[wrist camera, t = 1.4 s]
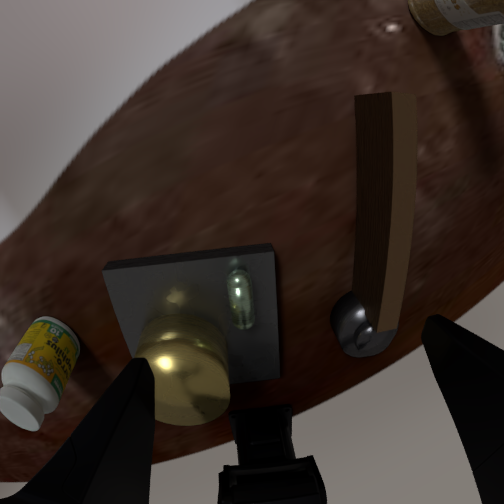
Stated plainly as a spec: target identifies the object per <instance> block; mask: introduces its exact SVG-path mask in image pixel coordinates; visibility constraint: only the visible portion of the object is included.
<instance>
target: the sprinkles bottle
mask: <svg viewBox="0 0 504 504" xmlns="http://www.w3.org/2000/svg"><path fill="white" fill-rule="evenodd" d="M408 5H409V9H410V11H411V13H412V15H413V17H414V19H415V20H416V21H417V22H418V23H419V25H420V26H421V27H422V28H424V29H425V30H427V31H428V32H430V33H432V34H433V35H439V36H443V35H447V34H448V33H450V32H454V31H459V30H468V29H473V28H479V27H484V26H490V25H497V24H504V0H408Z"/></svg>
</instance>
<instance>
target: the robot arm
mask: <svg viewBox="0 0 504 504" xmlns="http://www.w3.org/2000/svg"><path fill="white" fill-rule="evenodd" d="M421 339H422V343H423V345H424V348H425V351H426V353H427V356H428V359H429V362H430V365H431V368H432V371H433V373H434V376H435V378H436V381H437V383H438V386H439V388H440V390H441V392H442V394H443V397H444V399H445V402H446V404H447V406H448V408H449V411H450V413H451V415H452V418H453V420H454V423H455V426H456V428H457V430H458V433H459V436H460V439H461V441H462V444H463V446H464V449H465V452H466V455H467V458H468V460H469V463H470V466H471V469H472V471H473V475H474V478H475V482H476V485H477V488H478V491H479V494H480V498H481V501H482V504H504V350H502V349H500V348H498V347H497V346H495V345H493V344H492V343H489V342H488V341H486V340H484V339H483V338H481V337H479V336H477V335H476V334H474V333H472V332H470V331H468V330H467V329H465V328H463V327H461V326H460V325H457V324H456V323H454V322H452V321H451V320H449V319H447V318H445V317H443V316H441V315H439V314H436V315H432V316H429V317H428V318H427V320H426V322H425V325H424V328H423V331H422V335H421ZM229 421H230V425H231V429H232V433H233V437H234V440H235V444H237V450H238V451H237V452H238V464H239V465H234V466H229V465H224V467H223V469H224V470H223V471H222V472H220V473H219V493H218V502H217V503H218V504H327V497H326V490H325V486H324V482H323V480H322V477H321V475H320V472H319V470H318V467H317V465H316V462H315V460H314V457H313V455H311V456H307V457H304V458H297V459H296V457H295V452H294V448H293V443H292V439H291V436H292V407H291V405H289V404H286V405H280V406H273V407H265V408H257V409H249V410H239V411H231V412H229ZM154 431H155V377H154V374H153V371H152V369H151V367H150V365H149V362H148V360H147V359H146V358H144V357H138V358H133V359H131V361H130V362H129V363H128V364H127V365H126V367H125V368H124V369H123V370H122V371H121V373H120V374H119V375H118V376H117V378H116V379H115V380H114V381H113V383H112V384H111V385H110V386H109V387H108V389H107V390H106V391H105V392H104V394H103V395H102V396H101V397H100V399H99V400H98V401H97V402H96V404H95V405H94V406H93V407H92V409H91V410H90V411H89V412H88V414H87V415H86V416H85V417H84V419H83V420H82V421H81V422H80V424H79V425H78V426H77V427H76V429H75V430H74V431H73V432H72V434H71V437H68V439H67V440H66V441H65V442H64V444H63V445H62V446H61V447H60V449H59V450H58V451H57V452H56V453H55V455H54V456H53V457H52V458H51V459H50V460H49V461H48V462H47V463H46V464H45V466H44V467H43V468H42V469H41V470H40V471H39V472H38V473H37V474H36V475H35V476H34V477H33V478H32V479H31V480H30V481H29V482H28V483H27V484H26V485H25V486H24V487H23V488H22V489H21V490H20V491H18V492H17V493H15V494H14V495H12V496H9V497H7V498H3V499H0V504H149V491H150V475H151V463H152V451H153V441H154Z"/></svg>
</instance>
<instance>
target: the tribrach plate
mask: <svg viewBox="0 0 504 504" xmlns="http://www.w3.org/2000/svg"><path fill="white" fill-rule="evenodd" d="M102 273H103V277H104V280H105V283H106V286H107V289H108V292H109V295H110V299H111V302H112V304H113V307H114V310H115V313H116V316H117V319H118V322H119V324H120V327H121V330H122V333H123V335H124V338H125V340H126V343H127V346H128V348H129V351H130V353H131V356H132V358H138V357H144V358H146V359H147V360H148V362H149V365H150V367H151V369H152V371H153V374H154V377H155V419H156V420H158V421H161V422H164V423H168V424H173V425H182V426H190V425H199V424H203V423H207V422H210V421H212V420H214V419H216V418H218V417H219V416H220V415H222V414H223V413H224V412H225V410H226V409H227V407H228V405H229V402H230V387H229V384H235V383H244V382H253V381H261V380H269V379H276V378H280V365H279V341H278V319H277V298H276V279H275V261H274V250H273V248H272V245H271V243H266V244H257V245H248V246H239V247H230V248H221V249H213V250H204V251H195V252H186V253H178V254H169V255H160V256H152V257H143V258H135V259H126V260H118V261H109V262H108V263H107V264H106V265H105V267H104V268H103V270H102Z"/></svg>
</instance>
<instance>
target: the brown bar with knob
mask: <svg viewBox="0 0 504 504" xmlns="http://www.w3.org/2000/svg"><path fill="white" fill-rule="evenodd" d="M354 97H355V115H356V140H357V213H356V240H355V258H354V273H353V286H352V291H350V292H348V293H346V294H345V295H344V296H342V297H341V298H340V299H339V300H338V301H337V303H336V304H335V305H334V307H333V309H332V312H331V315H330V323H331V326H332V329H333V331H334V333H335V335H336V337H337V339H338V341H339V343H340V345H341V347H342V349H343V351H344V352H345V353H346V354H348V355H350V356H353V357H366V356H373V355H376V354H378V353H380V352H382V351H383V350H384V349H386V348H387V347H388V345H389V344H390V342H391V341H392V339H393V338H394V336H395V334H396V332H397V329H398V324H399V315H400V310H401V305H402V300H403V294H404V289H405V283H406V277H407V270H408V263H409V256H410V248H411V240H412V231H413V221H414V210H415V196H416V178H417V104H416V95H415V94H407V93H398V92H384V93H373V94H364V95H356V96H354Z"/></svg>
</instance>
